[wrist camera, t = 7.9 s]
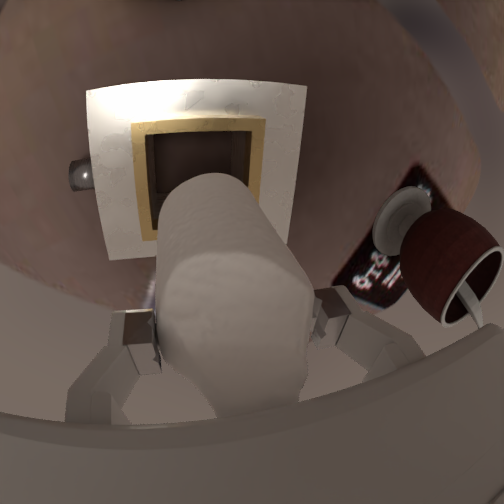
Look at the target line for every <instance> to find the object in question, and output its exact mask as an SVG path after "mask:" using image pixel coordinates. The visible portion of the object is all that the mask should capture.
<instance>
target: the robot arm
mask: <svg viewBox="0 0 504 504" xmlns="http://www.w3.org/2000/svg"><path fill="white" fill-rule="evenodd" d="M314 293H315V298H314V305H313V314H312V321H311V327H310V331H311V332H312V335H311V338H312V340H313V342H314V344H315V346H316V348H317V349H322V348H327V347H332V346H336V347H337V348H339V349H340V350H341V351H342V352H344V353H345V354H346V355H348V356H349V357H350V358H352V359H353V360H354V361H356V362H357V363H358V364H360V365H361V366H362V367H364V368H365V369H366V370H368V373H367V375H366V376H365V378H364V379H363V381H362V383H361V384H358V385H355V386H352V387H349V388H346V389H343V390H340V391H337V392H333V393H330V394H327V395H323V396H320V397H316V398H312V399H309V400H305V401H301V402H297V403H293V404H289V405H285V406H281V407H276V408H272V409H267V410H262V411H257V412H252V413H246V414H241V415H235V416H228V417H222V418H214V419H207V420H199V421H189V422H178V423H163V424H140V425H132V423H131V422H130V420H128V418H127V416H126V415H125V414H124V412H123V411H122V410H121V409H122V407H123V405H124V403H125V402H126V400H127V398H128V396H129V394H130V393H131V391H132V389H133V388H134V385H135V384H136V382H137V381H138V379H139V377H140V376H139V375H149V374H160V373H162V369H161V357H160V353H159V350H160V346H159V340H158V334H157V329H156V323H155V313H154V310H153V309H139V310H124V311H113V313H112V316H111V323H110V331H109V339H108V346H104V347H103V348H102V349H101V351H100V352H99V353H98V354H97V355H96V357H95V358H94V359H93V360H92V361H91V362H90V364H89V365H88V366H87V367H86V368H85V369H84V371H83V372H82V373H81V374H80V376H79V377H78V378H77V379H76V380H75V382H74V383H73V384H72V385H71V387H70V388H69V389H68V393H67V402H66V412H65V422H60V421H51V420H43V419H36V418H30V417H24V416H18V415H13V414H8V413H4V412H0V504H504V329H503V328H501V327H499V326H498V325H495V324H493V323H489V324H486V325H485V326H483V327H481V328H479V329H478V330H476V331H475V332H473V333H471V334H469V335H467V336H466V337H464V338H462V339H460V340H458V341H456V342H455V343H453V344H451V345H449V346H447V347H445V348H443V349H441V350H439V351H437V352H435V353H433V354H431V355H429V356H427V357H426V355H425V354H424V353H423V351H422V350H421V348H420V347H419V345H418V344H417V343H416V341H415V340H414V338H413V337H412V336H411V335H410V334H408V333H406V332H404V331H402V330H400V329H398V328H397V327H395V326H393V325H391V324H389V323H387V322H385V321H384V320H382V319H380V318H378V317H376V316H374V315H372V314H371V313H369V312H367V311H365V312H363V311H362V309H361V308H360V306H359V305H358V303H357V302H356V301H355V299H354V298H353V296H352V295H351V294H350V292H349V291H348V289H347V288H346V287H345V286H343V285H341V286H335V287H329V288H323V289H317V290H314Z"/></svg>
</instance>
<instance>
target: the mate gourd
mask: <svg viewBox="0 0 504 504" xmlns="http://www.w3.org/2000/svg"><path fill="white" fill-rule="evenodd" d="M372 235H373V242H374V245H375V246H376V248H377V249H378V250H379V251H380V252H381V253H382V254H384V255H387V256H395V255H399V254H400V271H401V275H402V277H403V279H404V281H405V283H406V286H407V287H408V289H409V290H410V292H411V294H412V295H413V297H414V298H415V299H416V300H417V302H418V303H419V304H420V305H421V306H422V308H423V309H424V310H425V311H427V312H428V313H429V314H430V315H431V316H432V317H433V318H435V319H436V320H437V321H438V322H440V323H441V324H442V325H443V326H444V327H451V326H454V325H456V324H457V323H459V322H461V321H462V320H463V319H465V318H466V317H467V316H468V315H469V314H470V315H471V317H472V318H473V320H474V321H475V323H476V324H477V326H478V329H479V328H481V327H483V316H482V310H481V306H480V303H481V302H482V301H483V300H484V298H485V297H486V296H487V294H488V293H489V291H490V290H491V288H492V287H493V285H494V283H495V282H496V280H497V278H498V276H499V273H500V271H501V269H502V266H503V262H504V250H503V248H502V247H500V246H499V244H498V243H497V241H496V240H495V239H494V237H493V236H492V235H491V234H490V233H489V232H488V231H487V230H486V229H485V228H484V227H483V226H482V225H480V224H479V223H478V222H476V221H475V220H474V219H472V218H470V217H468V216H466V215H464V214H462V213H460V212H458V211H456V210H453V209H450V208H443V209H438V210H432V211H431V203H430V199H429V197H428V195H427V194H426V193H425V192H424V191H423V190H422V189H420V188H418V187H413V186H409V187H405V188H402V189H400V190H398V191H397V192H395V193H394V194H393V195H391V196H390V197H389V198H388V199H387V200H386V202H385V203H384V204H383V205H382V207H381V209H380V210H379V212H378V214H377V216H376V219H375V222H374V225H373V232H372Z"/></svg>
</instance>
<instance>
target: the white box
mask: <svg viewBox="0 0 504 504" xmlns="http://www.w3.org/2000/svg"><path fill="white" fill-rule="evenodd" d="M306 93H307V86H302V85H295V84H286V83H277V82H266V81H252V80H231V79H188V80H167V81H153V82H142V83H133V84H125V85H118V86H111V87H105V88H99V89H93V90H88V91H86V102H87V122H88V135H89V146H90V156H91V158H87V159H81V160H75V161H72V162H71V164H70V167H69V183H70V186H71V189H72V190H73V191H82V190H89V189H95V192H96V198H97V204H98V209H99V215H100V220H101V225H102V230H103V234H104V239H105V243H106V247H107V252H108V256H109V260H119V259H130V258H142V257H153V256H157V235H158V221H159V214H160V211H161V208H162V205H163V203H164V201H165V200H166V198H167V196H168V195H169V194H170V193H171V192H170V193H158V194H157V190H156V176H155V159H154V134H161V133H175V132H195V131H232V144H231V166H230V176H233V177H235V178H237V179H238V180H240V181H241V182H243V184H244V185H245V186H246V187H248V188H249V190H250V191H251V193H252V195H253V196H254V198H255V200H256V201H257V203H258V205H259V206H260V208H261V209H262V211H263V212H264V214H265V215H266V217H267V218H268V220H269V221H270V223H271V225H272V226H273V228H274V229H275V231H276V232H277V234H278V235H279V236H280V238H281V239H282V240H283V242H284V243H285V245H287V239H288V233H289V226H290V219H291V212H292V205H293V198H294V191H295V184H296V176H297V169H298V161H299V153H300V145H301V137H302V129H303V120H304V111H305V102H306Z"/></svg>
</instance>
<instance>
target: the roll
mask: <svg viewBox="0 0 504 504" xmlns="http://www.w3.org/2000/svg"><path fill="white" fill-rule="evenodd" d="M314 298H315V293H314V290H313V287H312V285H311V282H310V280H309V279H308V276H307V275H306V273H305V272H304V270H303V269H302V267H301V266H300V264H299V263H298V261H297V260H296V259H295V257H294V255H293V254H292V252H291V251H290V250H289V248H288V247H287V246H286V245H285V243H284V242H283V240H282V239H281V238H280V236H279V235H278V234H277V232H276V231H275V229H274V228H273V226H272V225H271V223H270V221H269V220H268V218H267V217H266V215H265V214H264V212H263V211H262V209H261V208H260V206H259V205H258V203H257V201H256V200H255V198H254V196H253V195H252V193H251V191H250V190H249V188H248V187H246V186H245V185H244V184H243V182H241V181H240V180H238V179H237V178H235V177H233V176H230V175H227V174H223V173H207V174H202V175H199V176H196V177H193V178H191V179H189V180H187V181H185V182H183V183H181V184H180V185H179V186H178V187H176V188H175V189H174V190H173V191H172V192H171V193H170V194H169V195H168V196H167V198H166V200H165V201H164V203H163V205H162V208H161V211H160V214H159V221H158V235H157V258H156V284H155V300H156V306H155V307H156V329H157V334H158V340H159V346H160V350H161V353H162V356H163V359H164V360H165V362H166V363H167V364H168V365H170V366H171V367H172V368H173V369H174V370H175V371H176V372H177V373H178V374H180V375H181V376H182V377H183V378H185V379H187V380H188V381H190V382H191V383H192V384H193V385H194V386H195V387H196V388H197V389H198V391H199V392H200V393H201V394H202V395H203V396H204V397H205V398H206V399H207V401H208V403H209V405H210V406H211V407H212V408H213V410H214V412H215V414H216V416H217V418H222V417H228V416H235V415H241V414H246V413H252V412H257V411H262V410H267V409H272V408H276V407H281V406H285V405H289V404H293V403H297V402H298V401H299V393H300V390H301V389H302V388H303V386H304V383H305V381H306V379H307V376H308V365H307V359H306V355H307V347H308V342H309V335H310V327H311V321H312V314H313V305H314Z"/></svg>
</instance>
